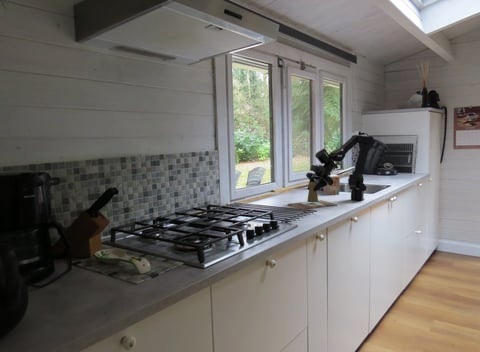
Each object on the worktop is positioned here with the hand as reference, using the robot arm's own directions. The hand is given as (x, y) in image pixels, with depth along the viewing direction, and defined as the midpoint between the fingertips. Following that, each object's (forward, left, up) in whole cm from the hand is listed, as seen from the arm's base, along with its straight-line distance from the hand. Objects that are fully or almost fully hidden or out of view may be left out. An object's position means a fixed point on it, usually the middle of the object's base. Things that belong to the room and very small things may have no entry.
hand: (310, 190), depth 207 cm
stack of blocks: (+11, -51, -9) cm, 53 cm away
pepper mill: (-1, -1, -7) cm, 7 cm away
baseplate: (0, -1, -9) cm, 9 cm away
